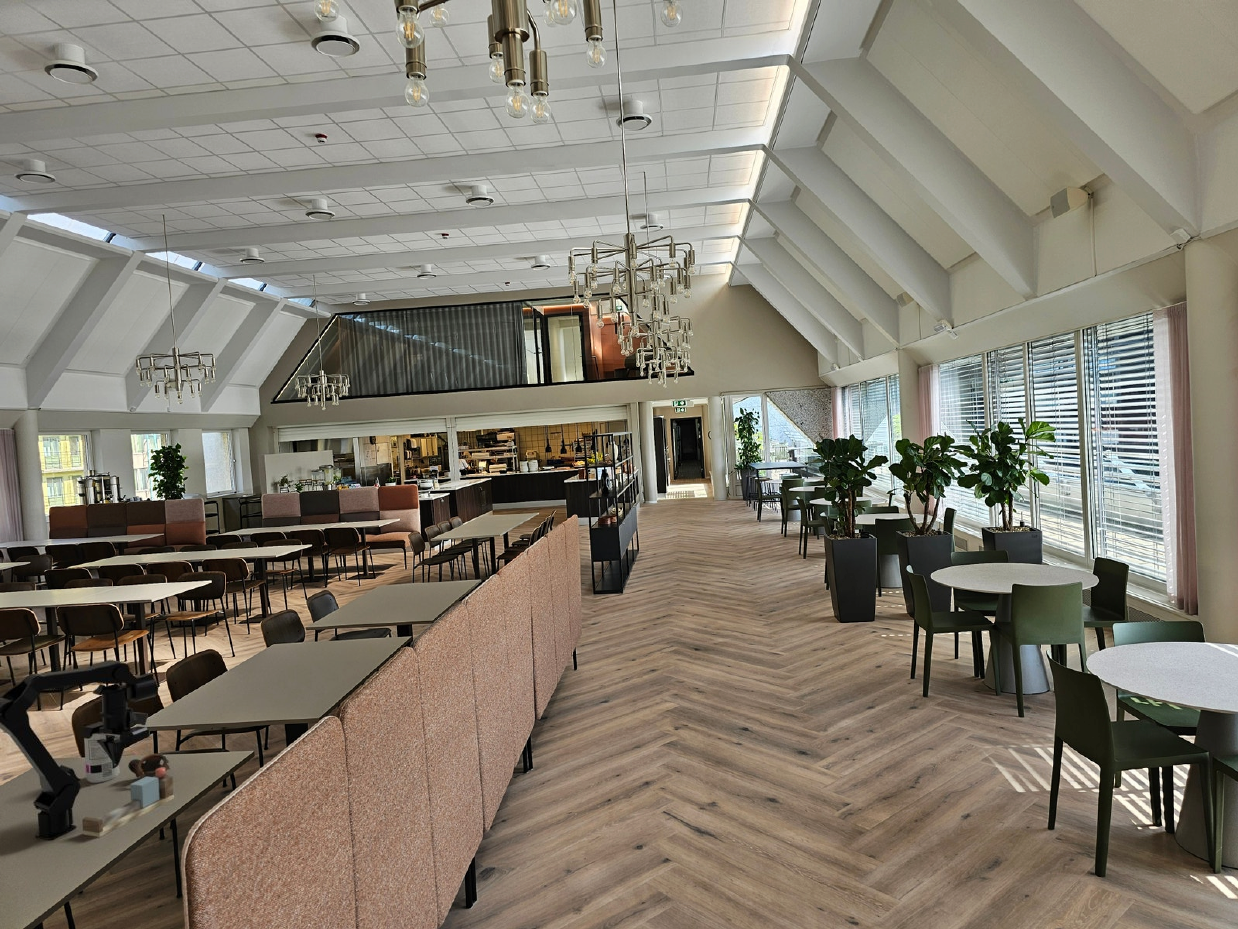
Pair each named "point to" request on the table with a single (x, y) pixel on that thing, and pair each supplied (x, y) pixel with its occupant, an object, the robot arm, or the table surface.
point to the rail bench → (130, 817)
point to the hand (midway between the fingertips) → (116, 763)
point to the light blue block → (145, 790)
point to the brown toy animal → (148, 765)
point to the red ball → (160, 772)
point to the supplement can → (98, 762)
